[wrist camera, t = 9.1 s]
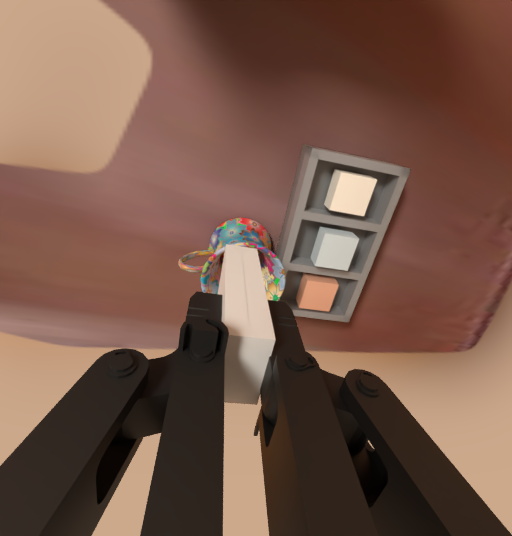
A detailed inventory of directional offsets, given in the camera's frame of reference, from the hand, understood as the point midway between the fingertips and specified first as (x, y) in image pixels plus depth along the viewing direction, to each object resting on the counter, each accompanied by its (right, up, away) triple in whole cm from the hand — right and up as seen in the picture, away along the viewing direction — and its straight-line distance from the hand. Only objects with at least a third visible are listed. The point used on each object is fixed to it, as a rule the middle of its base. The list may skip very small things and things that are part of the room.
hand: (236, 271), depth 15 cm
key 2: (+12, +10, +23) cm, 28 cm away
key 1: (+9, -3, +29) cm, 30 cm away
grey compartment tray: (+10, +5, +28) cm, 30 cm away
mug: (-3, +4, +28) cm, 28 cm away
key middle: (+11, +3, +25) cm, 27 cm away
